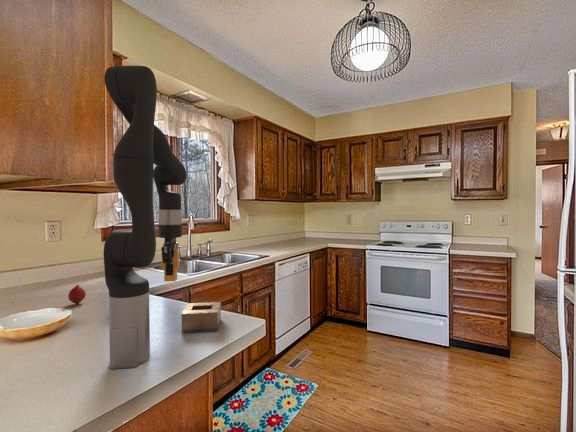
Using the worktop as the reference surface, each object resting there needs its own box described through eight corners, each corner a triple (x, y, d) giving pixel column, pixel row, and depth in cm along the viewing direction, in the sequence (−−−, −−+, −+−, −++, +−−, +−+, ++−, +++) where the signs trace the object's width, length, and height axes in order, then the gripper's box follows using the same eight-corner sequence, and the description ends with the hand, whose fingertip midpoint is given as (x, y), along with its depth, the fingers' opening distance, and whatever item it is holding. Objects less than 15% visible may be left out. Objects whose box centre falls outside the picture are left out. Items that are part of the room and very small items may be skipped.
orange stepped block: (177, 281, 103) (177, 251, 103) (161, 281, 102) (161, 251, 102) (179, 279, 106) (179, 250, 106) (164, 279, 105) (164, 250, 105)
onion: (76, 306, 123) (76, 286, 123) (64, 305, 124) (64, 286, 124) (89, 302, 129) (88, 283, 129) (77, 301, 130) (77, 282, 130)
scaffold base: (217, 331, 97) (217, 312, 97) (181, 333, 96) (181, 313, 96) (220, 319, 108) (220, 302, 108) (188, 321, 107) (188, 303, 106)
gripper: (177, 224, 97) (177, 278, 97) (186, 222, 111) (186, 270, 111) (152, 224, 96) (152, 278, 96) (164, 222, 110) (164, 270, 110)
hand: (170, 273), depth 104 cm, fingers closed on orange stepped block, 3 cm apart
